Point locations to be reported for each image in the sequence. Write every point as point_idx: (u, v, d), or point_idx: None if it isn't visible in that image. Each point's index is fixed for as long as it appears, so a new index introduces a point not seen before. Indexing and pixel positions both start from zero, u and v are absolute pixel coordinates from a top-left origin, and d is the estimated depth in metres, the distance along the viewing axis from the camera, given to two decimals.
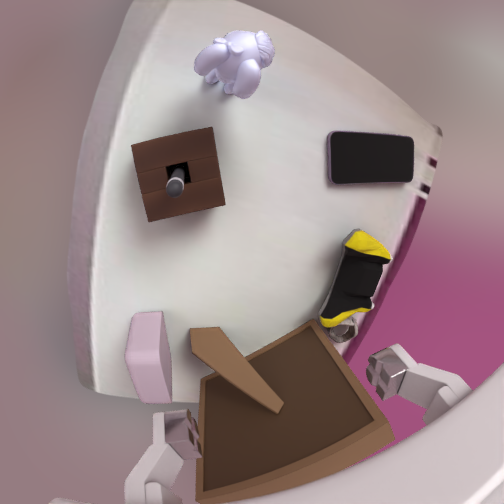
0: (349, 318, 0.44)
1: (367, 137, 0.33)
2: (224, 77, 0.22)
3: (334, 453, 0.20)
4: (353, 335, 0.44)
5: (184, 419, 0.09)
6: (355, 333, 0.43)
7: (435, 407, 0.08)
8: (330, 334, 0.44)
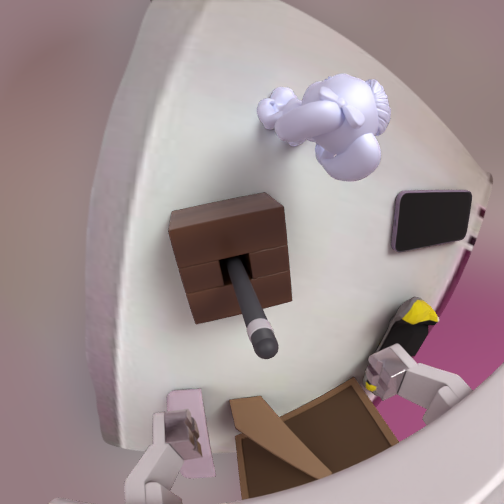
0: None
1: (434, 197, 0.27)
2: (308, 138, 0.16)
3: None
4: None
5: (184, 419, 0.09)
6: None
7: (435, 407, 0.08)
8: None
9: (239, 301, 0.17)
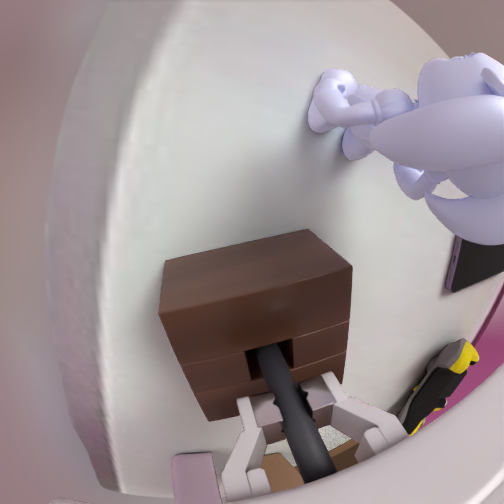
0: None
1: None
2: None
3: None
4: None
5: (272, 400, 0.09)
6: (423, 422, 0.29)
7: (363, 448, 0.07)
8: None
9: (288, 437, 0.08)
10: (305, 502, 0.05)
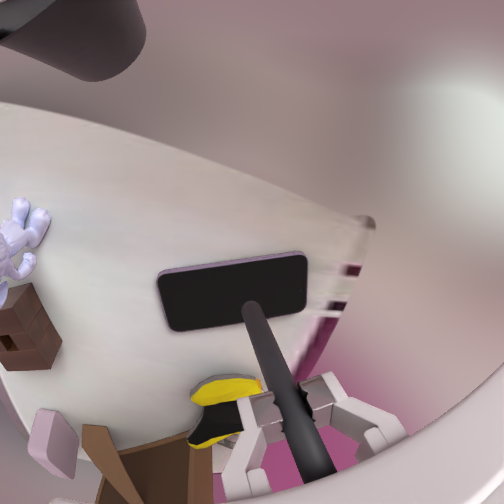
0: None
1: (216, 272, 0.26)
2: None
3: None
4: None
5: (272, 400, 0.09)
6: None
7: (363, 448, 0.07)
8: None
9: (288, 438, 0.08)
10: (305, 502, 0.05)
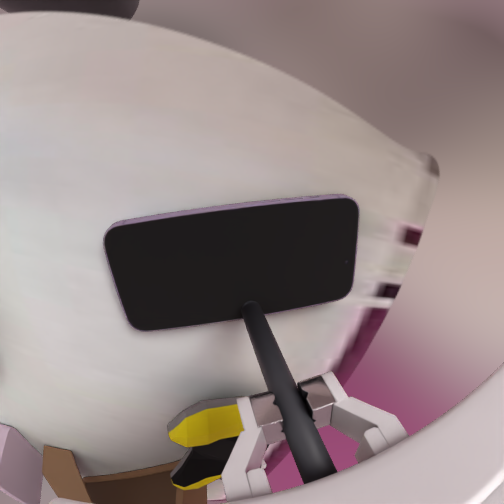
0: None
1: (205, 223, 0.14)
2: None
3: None
4: None
5: (272, 400, 0.09)
6: None
7: (363, 448, 0.07)
8: None
9: (288, 438, 0.08)
10: (305, 502, 0.05)
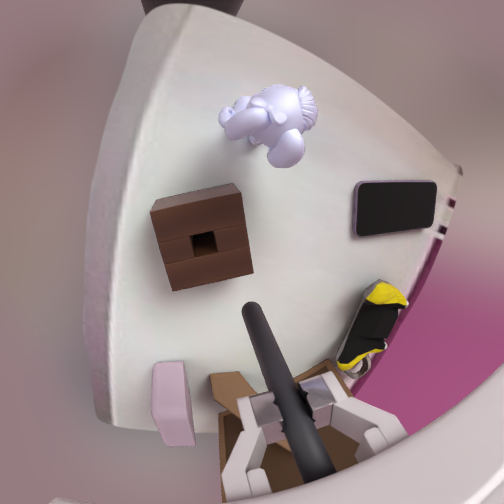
0: None
1: (393, 186, 0.32)
2: None
3: None
4: (367, 367, 0.42)
5: (272, 400, 0.09)
6: (368, 365, 0.42)
7: (363, 448, 0.07)
8: None
9: (288, 438, 0.08)
10: (305, 502, 0.05)
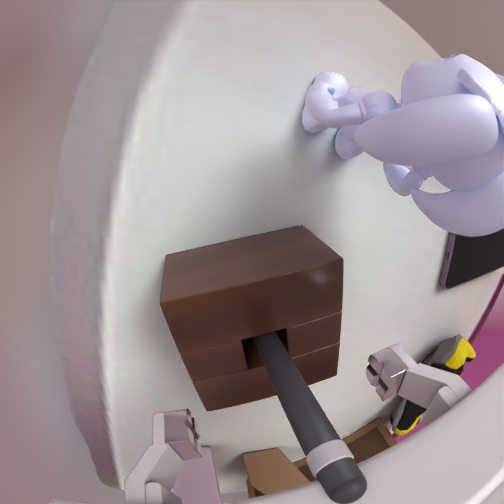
0: None
1: None
2: None
3: None
4: (418, 421, 0.30)
5: (184, 419, 0.09)
6: (420, 419, 0.30)
7: (435, 407, 0.08)
8: None
9: (284, 403, 0.09)
10: (305, 502, 0.05)
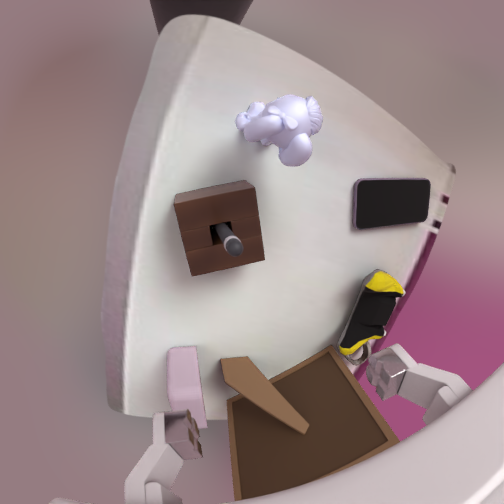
0: None
1: (390, 183, 0.35)
2: None
3: None
4: (367, 354, 0.45)
5: (184, 419, 0.09)
6: (369, 351, 0.45)
7: (435, 407, 0.08)
8: (346, 355, 0.46)
9: (221, 236, 0.24)
10: (305, 502, 0.05)
